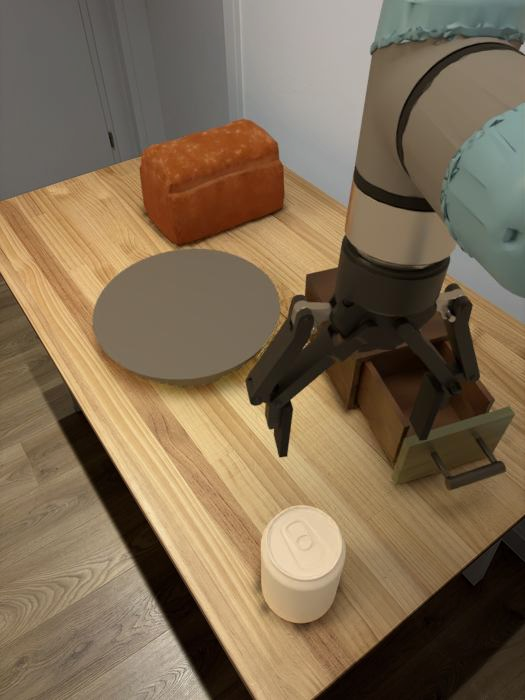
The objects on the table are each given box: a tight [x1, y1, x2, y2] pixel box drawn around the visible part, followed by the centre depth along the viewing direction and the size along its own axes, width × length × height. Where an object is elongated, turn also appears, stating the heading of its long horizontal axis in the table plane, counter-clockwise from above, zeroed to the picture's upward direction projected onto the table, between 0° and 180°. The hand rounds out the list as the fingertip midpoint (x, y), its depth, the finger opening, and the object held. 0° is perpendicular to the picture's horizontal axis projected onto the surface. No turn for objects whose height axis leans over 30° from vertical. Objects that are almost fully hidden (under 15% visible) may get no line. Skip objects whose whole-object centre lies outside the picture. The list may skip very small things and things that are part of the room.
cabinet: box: [304, 266, 449, 411], centre depth 78 cm, size 17×15×11 cm
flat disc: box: [92, 248, 281, 389], centre depth 85 cm, size 28×28×4 cm
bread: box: [138, 118, 286, 245], centre depth 102 cm, size 17×24×15 cm
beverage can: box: [260, 504, 347, 624], centre depth 56 cm, size 8×8×12 cm
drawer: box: [355, 339, 516, 491], centre depth 69 cm, size 20×14×9 cm
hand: (350, 437), depth 52 cm, fingers open, 13 cm apart
